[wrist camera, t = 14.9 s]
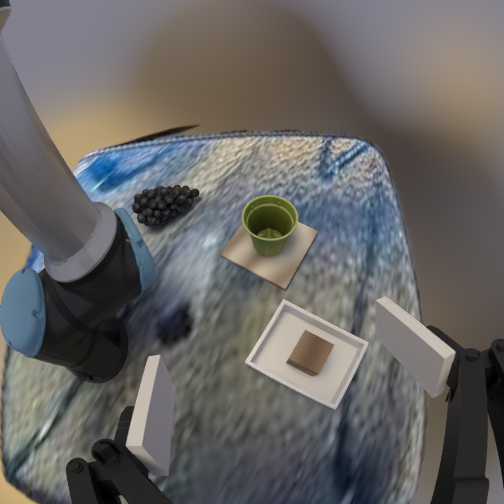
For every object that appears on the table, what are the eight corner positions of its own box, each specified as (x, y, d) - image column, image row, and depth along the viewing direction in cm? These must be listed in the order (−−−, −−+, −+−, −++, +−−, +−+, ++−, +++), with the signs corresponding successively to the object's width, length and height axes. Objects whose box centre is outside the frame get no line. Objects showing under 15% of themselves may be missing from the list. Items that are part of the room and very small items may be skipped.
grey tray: (246, 365, 44) (244, 362, 40) (281, 307, 49) (283, 298, 45) (329, 408, 40) (335, 409, 36) (360, 347, 44) (368, 342, 40)
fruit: (191, 164, 54) (123, 191, 52) (204, 197, 53) (133, 226, 50) (193, 182, 63) (134, 206, 60) (206, 213, 62) (144, 238, 59)
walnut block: (285, 362, 43) (289, 358, 38) (300, 337, 45) (305, 329, 40) (312, 376, 42) (319, 374, 36) (326, 350, 44) (334, 344, 38)
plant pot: (267, 214, 57) (267, 186, 50) (303, 241, 54) (309, 214, 46) (234, 244, 54) (230, 217, 47) (271, 274, 51) (272, 251, 43)
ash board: (220, 256, 54) (220, 254, 53) (257, 206, 60) (257, 203, 59) (284, 290, 50) (285, 288, 49) (317, 233, 56) (317, 231, 55)
